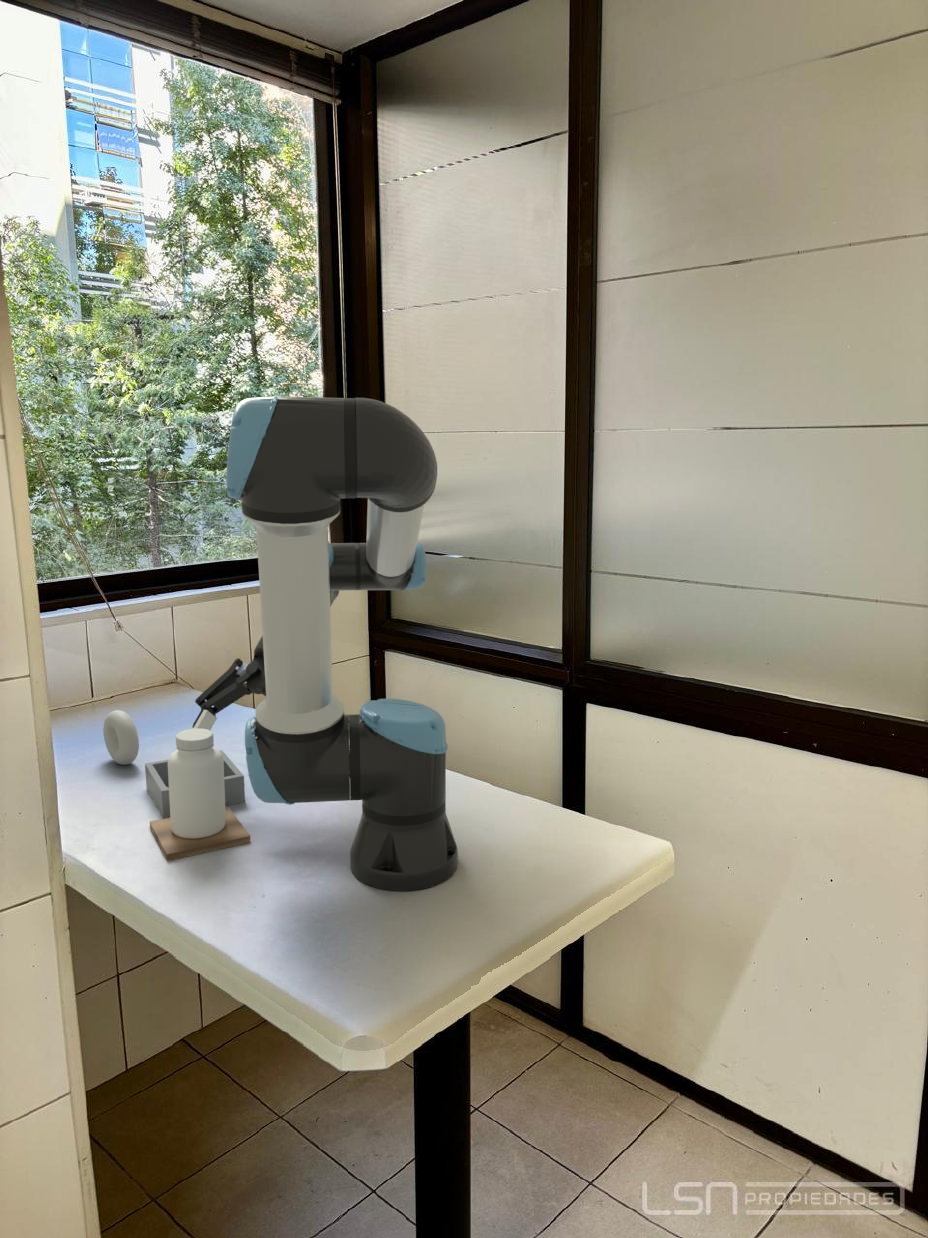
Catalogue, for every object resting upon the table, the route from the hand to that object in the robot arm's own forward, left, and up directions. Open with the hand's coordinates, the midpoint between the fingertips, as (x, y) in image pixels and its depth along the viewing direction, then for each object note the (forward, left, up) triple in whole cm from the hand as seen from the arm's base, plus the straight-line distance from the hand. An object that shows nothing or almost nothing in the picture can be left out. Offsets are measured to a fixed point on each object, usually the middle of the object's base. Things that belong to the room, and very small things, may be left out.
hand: (220, 759), depth 139 cm
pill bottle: (-3, +4, -9) cm, 11 cm away
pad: (-3, +4, -10) cm, 12 cm away
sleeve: (+12, +2, -10) cm, 16 cm away
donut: (+32, +10, -11) cm, 35 cm away
